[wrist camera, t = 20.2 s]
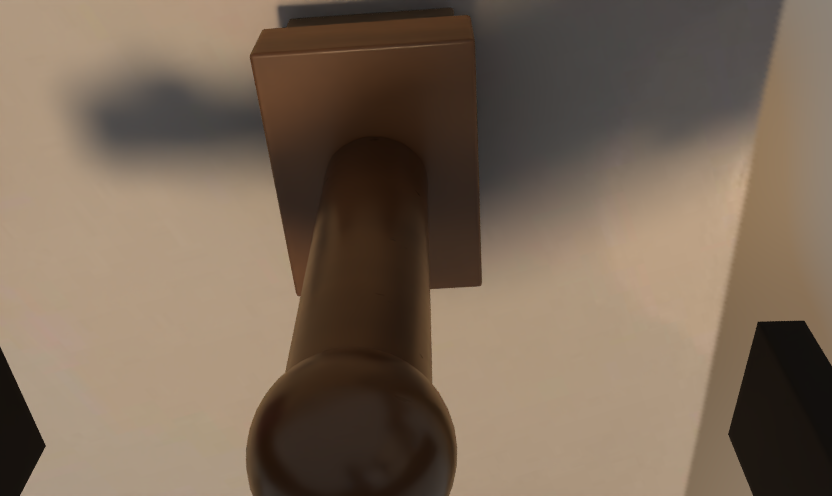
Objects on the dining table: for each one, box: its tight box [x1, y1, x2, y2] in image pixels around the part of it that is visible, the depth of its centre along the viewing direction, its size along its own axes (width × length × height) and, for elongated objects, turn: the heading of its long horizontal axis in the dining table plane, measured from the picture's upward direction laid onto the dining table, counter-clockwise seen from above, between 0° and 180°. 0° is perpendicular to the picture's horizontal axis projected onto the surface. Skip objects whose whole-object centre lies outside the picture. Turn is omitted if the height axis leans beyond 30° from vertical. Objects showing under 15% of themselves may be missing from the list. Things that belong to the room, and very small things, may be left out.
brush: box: [246, 8, 482, 496], centre depth 18 cm, size 8×6×15 cm
